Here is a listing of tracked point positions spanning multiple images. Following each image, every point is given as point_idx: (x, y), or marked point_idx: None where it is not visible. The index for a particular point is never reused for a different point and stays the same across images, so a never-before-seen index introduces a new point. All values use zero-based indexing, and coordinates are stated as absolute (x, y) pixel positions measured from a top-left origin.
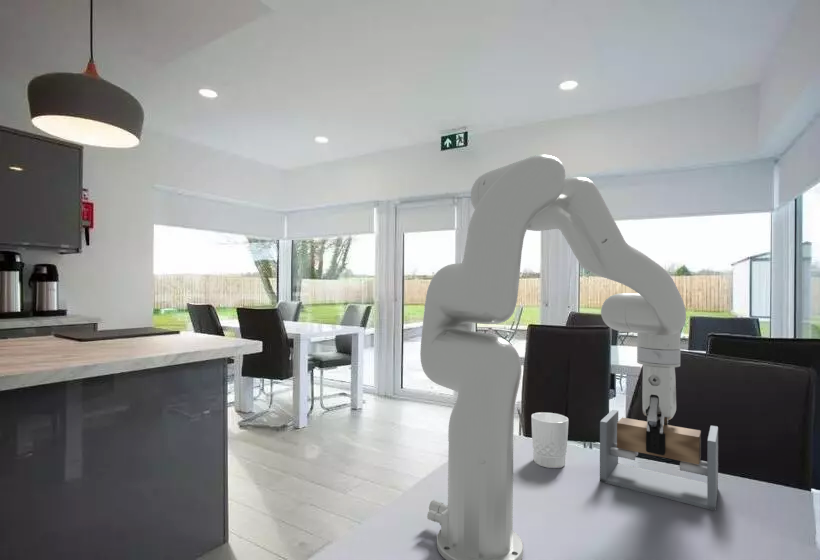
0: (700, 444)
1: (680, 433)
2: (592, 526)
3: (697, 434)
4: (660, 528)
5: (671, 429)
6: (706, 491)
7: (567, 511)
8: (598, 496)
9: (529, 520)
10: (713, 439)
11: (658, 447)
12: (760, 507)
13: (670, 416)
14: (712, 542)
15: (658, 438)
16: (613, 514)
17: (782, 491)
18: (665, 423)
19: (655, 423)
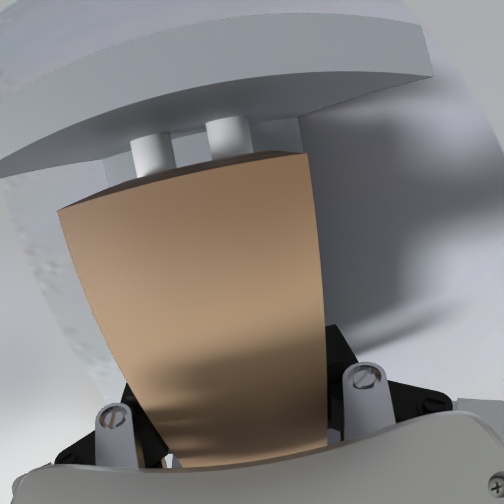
0: (138, 180)
1: (310, 300)
2: (494, 276)
3: (216, 188)
4: (460, 189)
5: (242, 373)
6: (180, 145)
7: (470, 325)
8: (400, 331)
9: (500, 334)
10: (372, 33)
11: (337, 332)
12: (159, 22)
13: (478, 417)
14: (449, 98)
15: (356, 361)
16: (454, 275)
17: (12, 42)
18: (137, 423)
19: (485, 402)
